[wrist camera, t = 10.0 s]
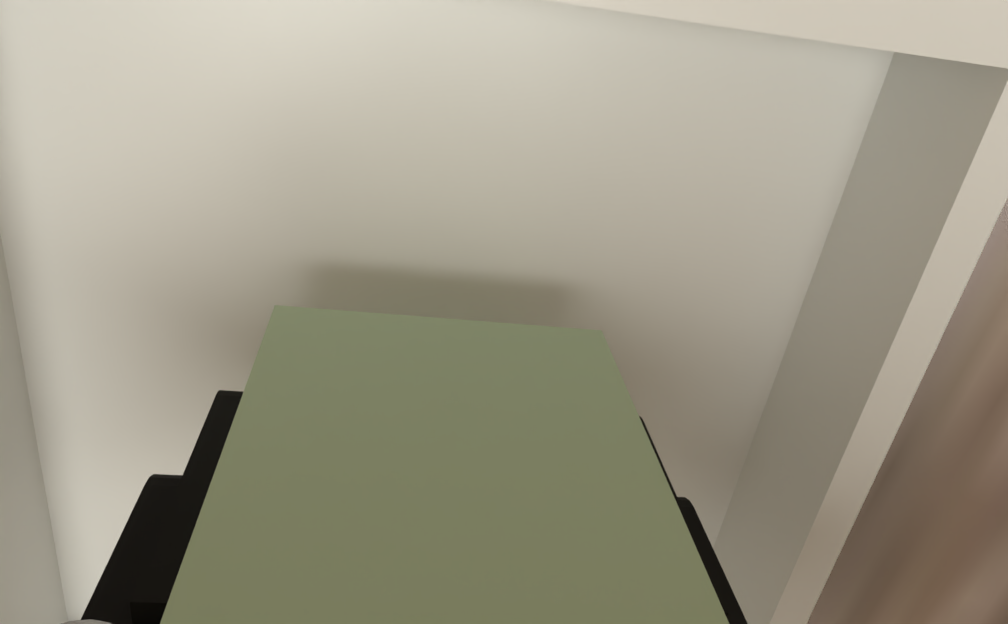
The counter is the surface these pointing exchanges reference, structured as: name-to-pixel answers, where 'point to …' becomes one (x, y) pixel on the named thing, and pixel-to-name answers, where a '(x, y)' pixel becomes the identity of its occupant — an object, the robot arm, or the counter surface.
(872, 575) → the counter surface
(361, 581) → the green block
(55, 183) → the white bin
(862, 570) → the counter surface
